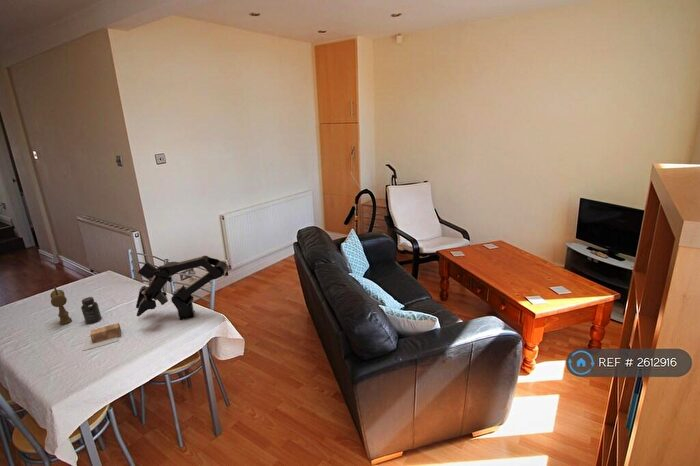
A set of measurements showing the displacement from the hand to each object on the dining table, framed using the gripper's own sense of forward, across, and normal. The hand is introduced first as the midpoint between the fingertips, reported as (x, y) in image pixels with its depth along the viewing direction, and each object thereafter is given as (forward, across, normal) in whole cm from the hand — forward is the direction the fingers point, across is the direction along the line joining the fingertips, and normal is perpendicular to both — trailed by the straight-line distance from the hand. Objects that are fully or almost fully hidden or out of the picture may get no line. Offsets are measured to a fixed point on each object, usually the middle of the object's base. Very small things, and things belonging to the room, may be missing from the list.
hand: (137, 311), depth 176 cm
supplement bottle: (+19, +18, +10) cm, 28 cm away
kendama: (+27, +24, +18) cm, 40 cm away
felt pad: (+16, -4, +7) cm, 18 cm away
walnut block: (+9, -4, +3) cm, 10 cm away
